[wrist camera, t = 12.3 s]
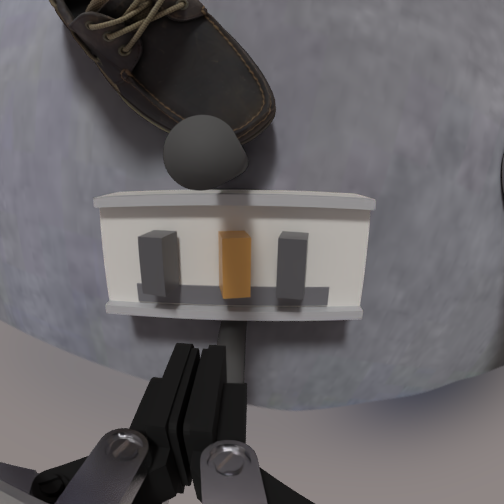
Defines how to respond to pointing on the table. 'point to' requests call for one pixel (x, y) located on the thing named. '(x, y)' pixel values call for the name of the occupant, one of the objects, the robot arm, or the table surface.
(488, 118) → the table surface
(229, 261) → the rectangular block
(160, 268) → the grey block
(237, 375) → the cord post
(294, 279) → the grey block
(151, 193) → the breaker panel
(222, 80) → the boat shoe
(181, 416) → the robot arm
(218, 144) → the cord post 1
